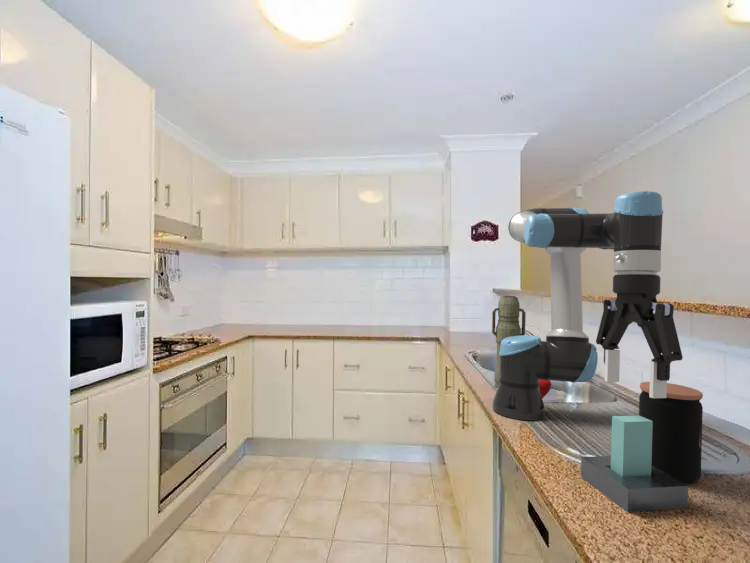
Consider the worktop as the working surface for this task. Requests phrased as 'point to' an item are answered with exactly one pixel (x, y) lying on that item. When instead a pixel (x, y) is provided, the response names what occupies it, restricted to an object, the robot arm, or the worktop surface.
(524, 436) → the worktop surface
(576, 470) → the worktop surface
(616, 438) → the keyed peg
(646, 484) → the block
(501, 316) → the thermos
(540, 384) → the strawberry
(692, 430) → the coffee jar
